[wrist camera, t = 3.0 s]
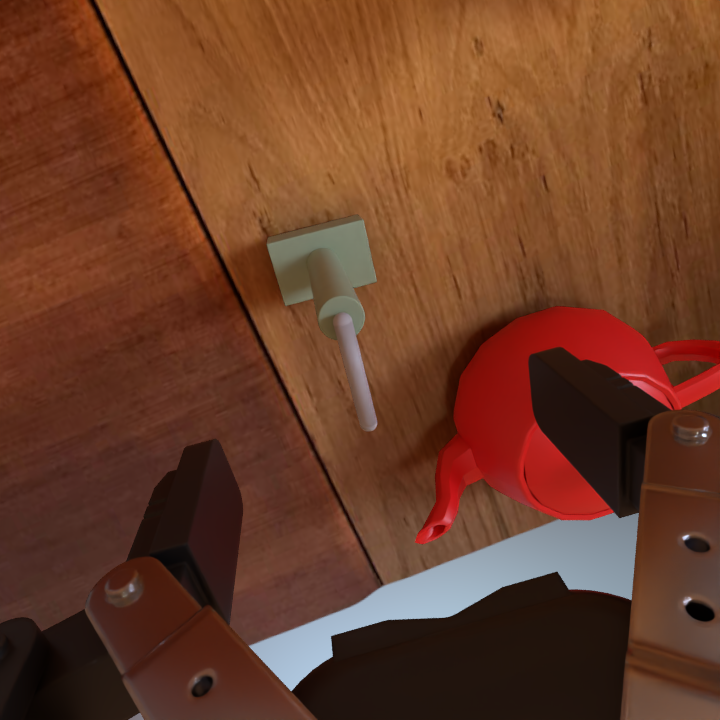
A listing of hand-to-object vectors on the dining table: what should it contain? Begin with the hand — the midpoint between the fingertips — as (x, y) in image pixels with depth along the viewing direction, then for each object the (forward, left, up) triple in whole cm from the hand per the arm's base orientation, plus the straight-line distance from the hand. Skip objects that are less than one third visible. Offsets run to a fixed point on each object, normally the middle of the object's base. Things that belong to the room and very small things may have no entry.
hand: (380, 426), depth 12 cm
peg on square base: (0, -2, -23) cm, 23 cm away
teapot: (+13, -15, -23) cm, 31 cm away
